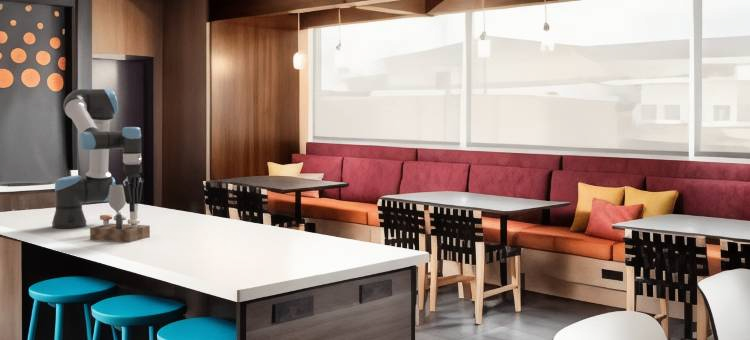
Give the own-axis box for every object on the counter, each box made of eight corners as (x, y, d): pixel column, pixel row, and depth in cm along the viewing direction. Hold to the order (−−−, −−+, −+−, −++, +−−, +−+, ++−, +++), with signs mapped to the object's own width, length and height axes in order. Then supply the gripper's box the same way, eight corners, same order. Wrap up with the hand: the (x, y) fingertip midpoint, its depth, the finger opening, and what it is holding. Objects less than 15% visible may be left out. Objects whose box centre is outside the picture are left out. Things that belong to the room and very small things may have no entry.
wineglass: (105, 232, 383) (104, 185, 381) (118, 230, 390) (116, 184, 388) (118, 233, 379) (116, 186, 378) (130, 231, 386) (129, 184, 384)
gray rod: (114, 229, 359) (114, 212, 358) (118, 228, 361) (118, 211, 361) (119, 229, 358) (119, 212, 358) (123, 228, 360) (122, 212, 360)
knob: (125, 234, 362) (125, 220, 362) (132, 232, 367) (132, 218, 367) (135, 235, 361) (135, 220, 360) (142, 233, 366) (142, 219, 365)
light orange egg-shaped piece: (97, 230, 367) (97, 216, 366) (105, 228, 372) (104, 214, 371) (107, 230, 365) (107, 216, 365) (114, 229, 370) (114, 215, 370)
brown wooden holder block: (90, 239, 363) (89, 227, 363) (110, 234, 376) (110, 223, 376) (130, 242, 357) (130, 230, 356) (149, 237, 370) (149, 225, 369)
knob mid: (111, 231, 365) (111, 216, 364) (118, 229, 369) (118, 215, 369) (121, 231, 363) (121, 217, 363) (128, 230, 368) (128, 215, 367)
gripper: (130, 164, 354) (132, 221, 356) (149, 162, 366) (150, 217, 368) (115, 164, 357) (117, 220, 358) (134, 162, 369) (135, 216, 371)
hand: (133, 219), depth 363 cm, fingers closed
